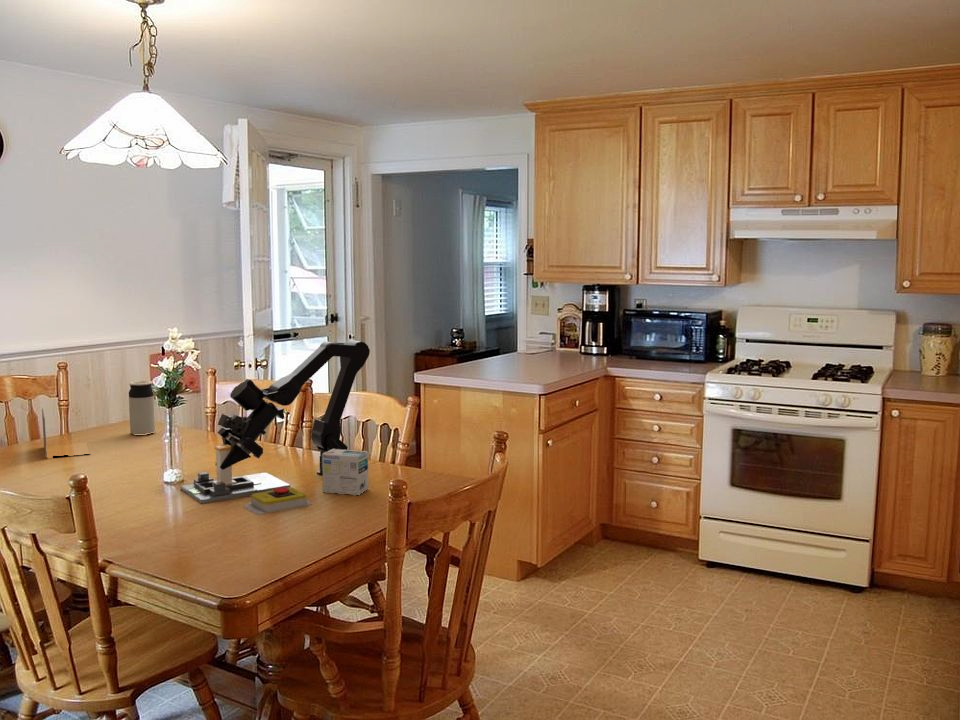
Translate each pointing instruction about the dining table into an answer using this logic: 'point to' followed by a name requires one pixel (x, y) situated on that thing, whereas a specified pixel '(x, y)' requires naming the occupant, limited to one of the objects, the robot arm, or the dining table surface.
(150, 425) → the travel mug
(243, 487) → the breaker panel
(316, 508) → the dining table surface
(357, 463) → the light bulb box
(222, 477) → the handle
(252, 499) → the emergency button
